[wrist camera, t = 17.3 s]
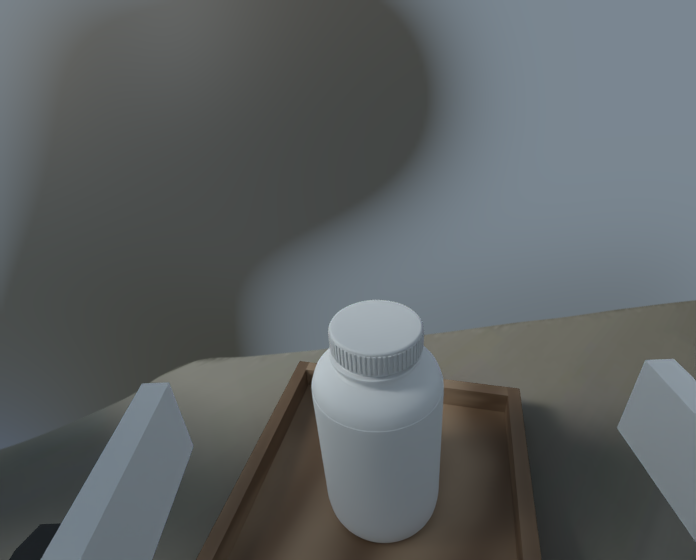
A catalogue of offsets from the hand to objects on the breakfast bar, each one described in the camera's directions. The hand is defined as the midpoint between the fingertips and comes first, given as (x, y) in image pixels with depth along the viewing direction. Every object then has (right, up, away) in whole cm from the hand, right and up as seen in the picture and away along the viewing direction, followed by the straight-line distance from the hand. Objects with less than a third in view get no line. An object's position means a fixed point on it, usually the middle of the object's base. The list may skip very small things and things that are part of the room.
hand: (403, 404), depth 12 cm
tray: (+1, -13, +19) cm, 23 cm away
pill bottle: (+1, -12, +18) cm, 22 cm away
